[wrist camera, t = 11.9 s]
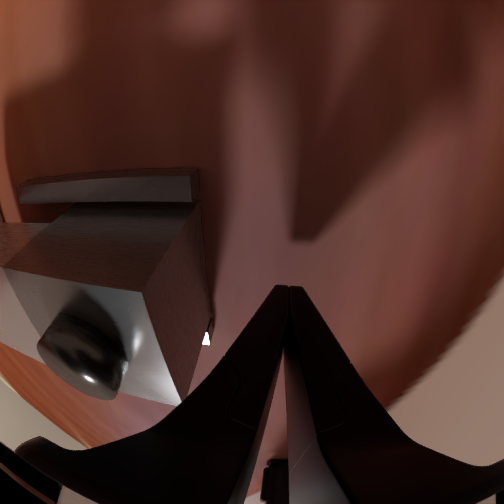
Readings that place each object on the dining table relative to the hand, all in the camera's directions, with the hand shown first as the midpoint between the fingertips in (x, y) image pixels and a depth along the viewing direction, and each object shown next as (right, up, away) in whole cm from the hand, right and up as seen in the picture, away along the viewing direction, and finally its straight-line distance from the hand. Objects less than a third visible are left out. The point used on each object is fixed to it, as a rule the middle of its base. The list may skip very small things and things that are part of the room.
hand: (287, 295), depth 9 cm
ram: (-8, +1, +2) cm, 8 cm away
